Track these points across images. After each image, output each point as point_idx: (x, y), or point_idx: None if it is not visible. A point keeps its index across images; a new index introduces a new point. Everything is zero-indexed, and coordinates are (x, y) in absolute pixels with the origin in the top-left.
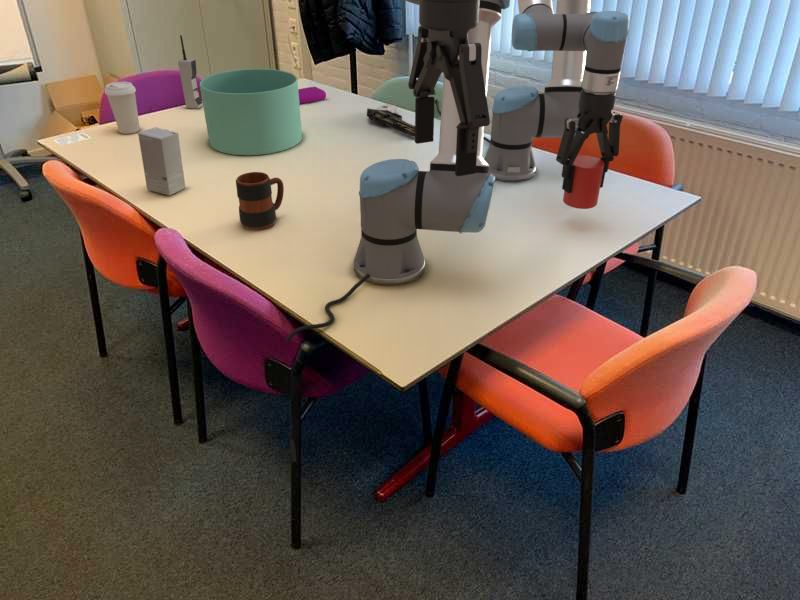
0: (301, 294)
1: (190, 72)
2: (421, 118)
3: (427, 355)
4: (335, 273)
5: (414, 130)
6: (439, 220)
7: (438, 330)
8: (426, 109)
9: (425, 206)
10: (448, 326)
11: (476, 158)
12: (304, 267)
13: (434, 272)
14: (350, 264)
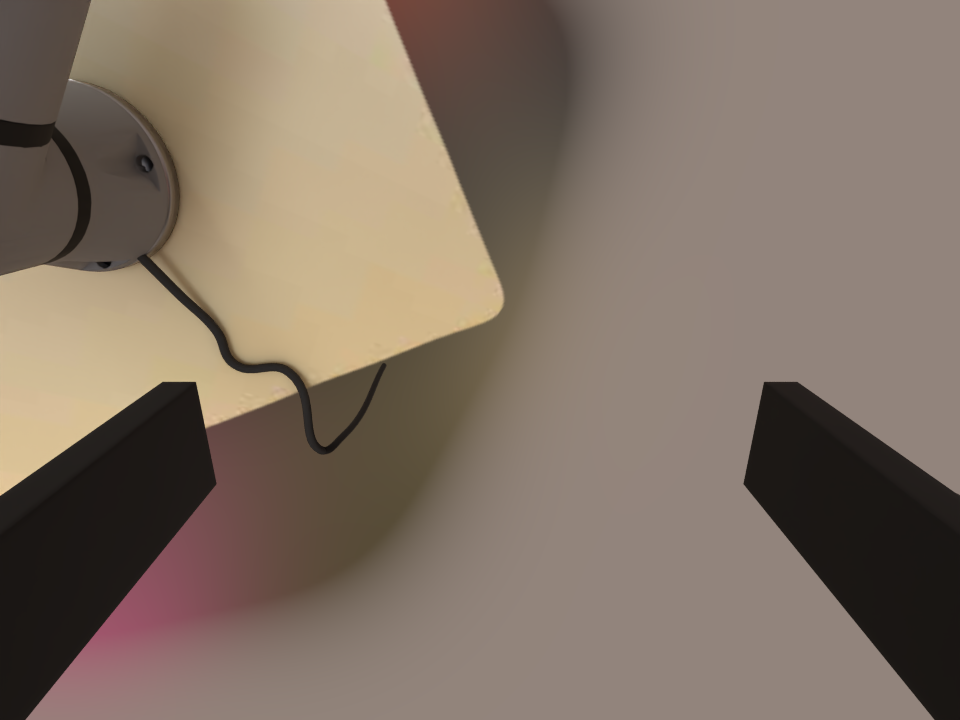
0: None
1: None
2: (109, 570)
3: (450, 236)
4: (96, 308)
5: None
6: (64, 65)
7: (378, 177)
8: (47, 591)
9: (11, 108)
10: (370, 148)
11: (859, 426)
12: (59, 362)
13: (129, 70)
14: None
